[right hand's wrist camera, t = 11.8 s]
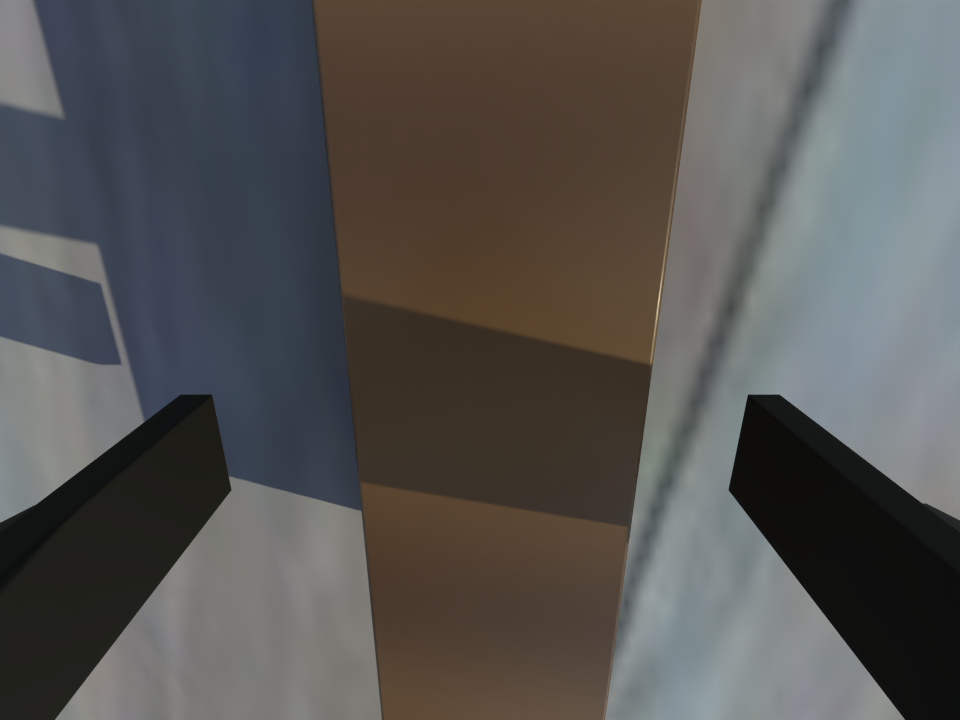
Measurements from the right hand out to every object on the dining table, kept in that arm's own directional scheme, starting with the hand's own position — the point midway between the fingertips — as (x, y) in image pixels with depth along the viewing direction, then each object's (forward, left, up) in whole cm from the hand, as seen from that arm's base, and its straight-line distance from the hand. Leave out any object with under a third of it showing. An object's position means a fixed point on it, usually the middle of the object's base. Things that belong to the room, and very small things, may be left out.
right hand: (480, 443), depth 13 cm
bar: (+8, +22, -4) cm, 24 cm away
